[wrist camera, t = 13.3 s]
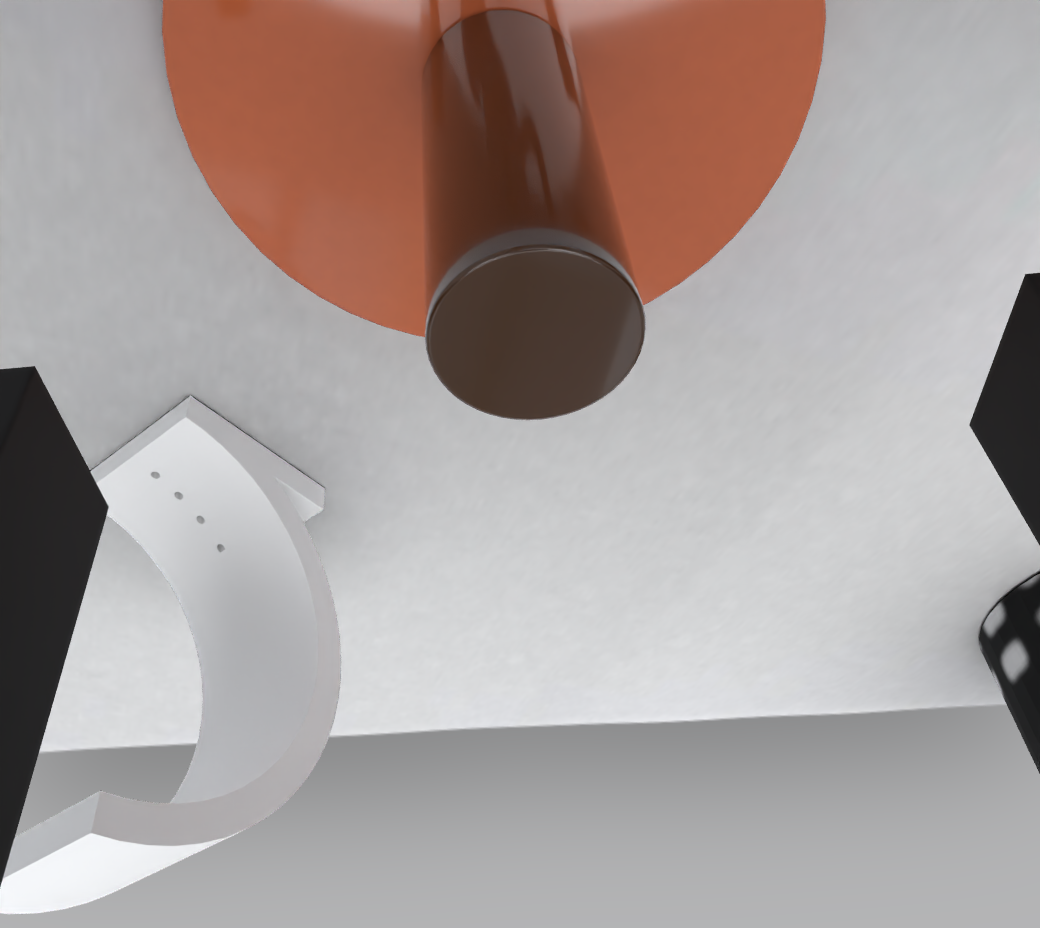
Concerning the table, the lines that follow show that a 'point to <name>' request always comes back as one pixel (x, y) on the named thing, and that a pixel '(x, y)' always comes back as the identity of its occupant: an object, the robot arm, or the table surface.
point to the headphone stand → (207, 656)
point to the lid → (495, 162)
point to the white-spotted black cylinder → (1017, 658)
